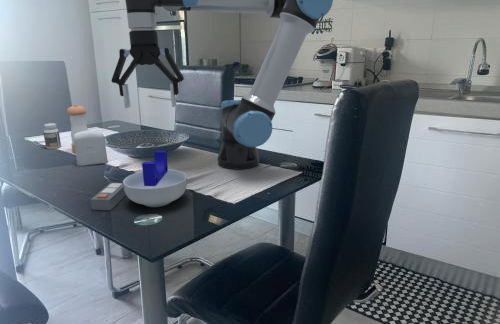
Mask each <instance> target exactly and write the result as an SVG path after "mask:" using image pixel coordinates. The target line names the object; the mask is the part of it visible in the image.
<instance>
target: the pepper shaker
mask: <svg viewBox="0 0 500 324" xmlns="http://www.w3.org/2000/svg"><path fill="white" fill-rule="evenodd" d="M66 113H67V115H69V120H70V127H71V129H70V139H71V144H70V145H71V151H72V154H76V151H75V145H74V135H75V134H76V133H78V132H81V131H86V130H89V129H88V127H87V121H86V116H85V115H86V113H87V109H86V107H85V106H82V105H79V104H78V103H74V104H73V105H72V106H69V107H68V108H67V110H66Z"/></svg>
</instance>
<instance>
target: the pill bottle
mask: <svg viewBox="0 0 500 324" xmlns="http://www.w3.org/2000/svg"><path fill="white" fill-rule="evenodd" d="M57 125H58V124H57V123H53V122H49V123H45V124H43V129H44V130H43V132H42V133H43V138H44V144H45V147H46V149H48V150H53V149H58V148H61V147H62V144H61V143H62V142H61V137H60V136H61V135H60V130H59V129H58V128H57V127H58V126H57Z"/></svg>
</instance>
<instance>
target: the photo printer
mask: <svg viewBox="0 0 500 324" xmlns="http://www.w3.org/2000/svg"><path fill="white" fill-rule="evenodd" d="M74 145H75V151H76V153H75V157H76V163H77V166H78V167H83V166H91V165H93V166H94V165H99V164H102V165H103V164H107V163H108V162H109V161H108V153H107V147H106V146H107V145H106V140H105V135H104V134H103V131H101V130H95V129H94V130H93V129H92V130H91V129H88V130H86V131H81V132H78V133H76V134H75V135H74Z"/></svg>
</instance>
